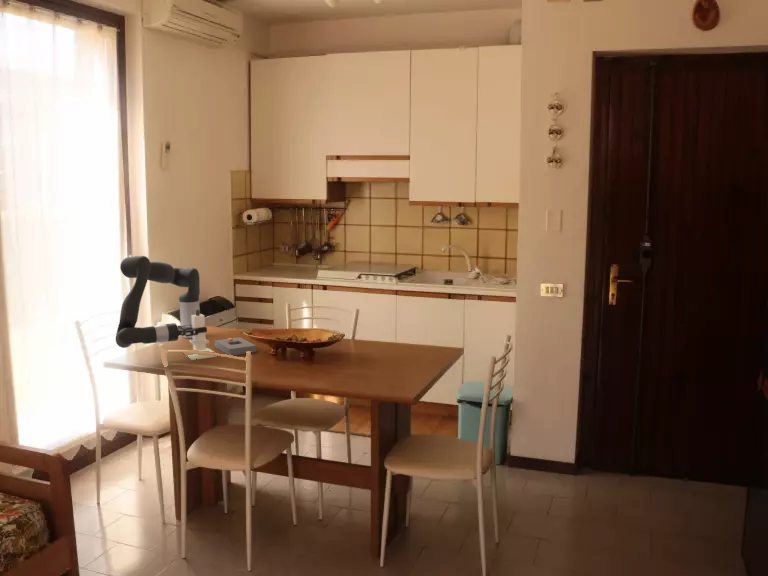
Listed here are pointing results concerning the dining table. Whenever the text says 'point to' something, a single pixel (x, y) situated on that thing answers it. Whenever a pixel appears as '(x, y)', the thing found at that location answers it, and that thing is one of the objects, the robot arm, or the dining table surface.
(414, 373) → the dining table surface
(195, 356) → the mat
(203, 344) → the plug
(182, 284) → the robot arm
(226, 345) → the grey slotted block
